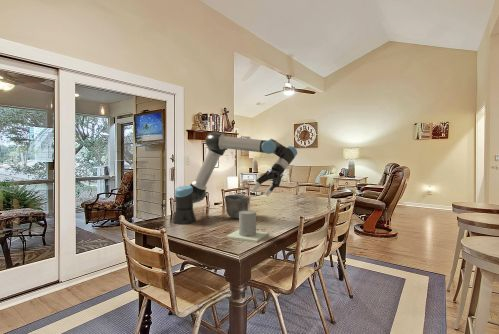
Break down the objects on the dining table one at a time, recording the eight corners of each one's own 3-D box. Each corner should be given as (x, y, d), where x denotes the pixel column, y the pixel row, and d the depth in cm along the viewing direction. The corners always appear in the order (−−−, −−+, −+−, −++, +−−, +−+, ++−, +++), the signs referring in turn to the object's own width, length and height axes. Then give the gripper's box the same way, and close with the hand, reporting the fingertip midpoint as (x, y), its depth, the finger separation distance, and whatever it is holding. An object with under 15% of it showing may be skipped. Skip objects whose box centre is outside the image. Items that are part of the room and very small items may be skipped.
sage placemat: (226, 237, 149) (226, 236, 149) (240, 230, 164) (240, 228, 163) (256, 242, 141) (256, 240, 141) (268, 234, 156) (268, 232, 156)
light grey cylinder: (250, 237, 146) (250, 214, 145) (235, 235, 151) (235, 212, 150) (259, 233, 154) (259, 211, 153) (245, 230, 159) (245, 209, 158)
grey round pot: (218, 218, 194) (218, 197, 194) (234, 213, 209) (234, 194, 208) (238, 221, 184) (238, 199, 184) (253, 216, 199) (253, 196, 198)
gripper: (296, 172, 161) (276, 200, 154) (270, 169, 182) (251, 194, 175) (290, 163, 158) (268, 191, 151) (264, 162, 179) (244, 186, 171)
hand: (259, 193), depth 163 cm, fingers open, 13 cm apart
